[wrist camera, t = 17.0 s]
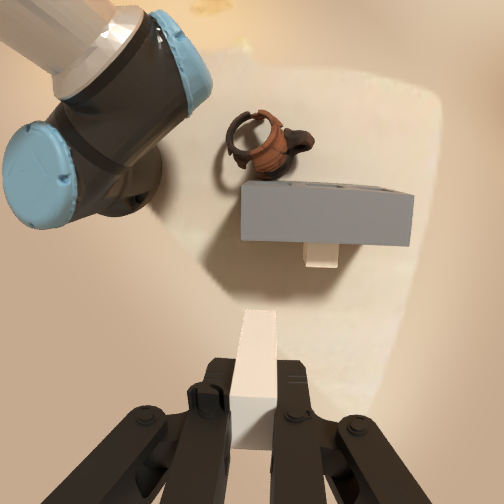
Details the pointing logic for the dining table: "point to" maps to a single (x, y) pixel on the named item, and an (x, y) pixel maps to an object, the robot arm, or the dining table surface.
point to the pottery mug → (269, 146)
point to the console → (325, 213)
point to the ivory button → (320, 254)
